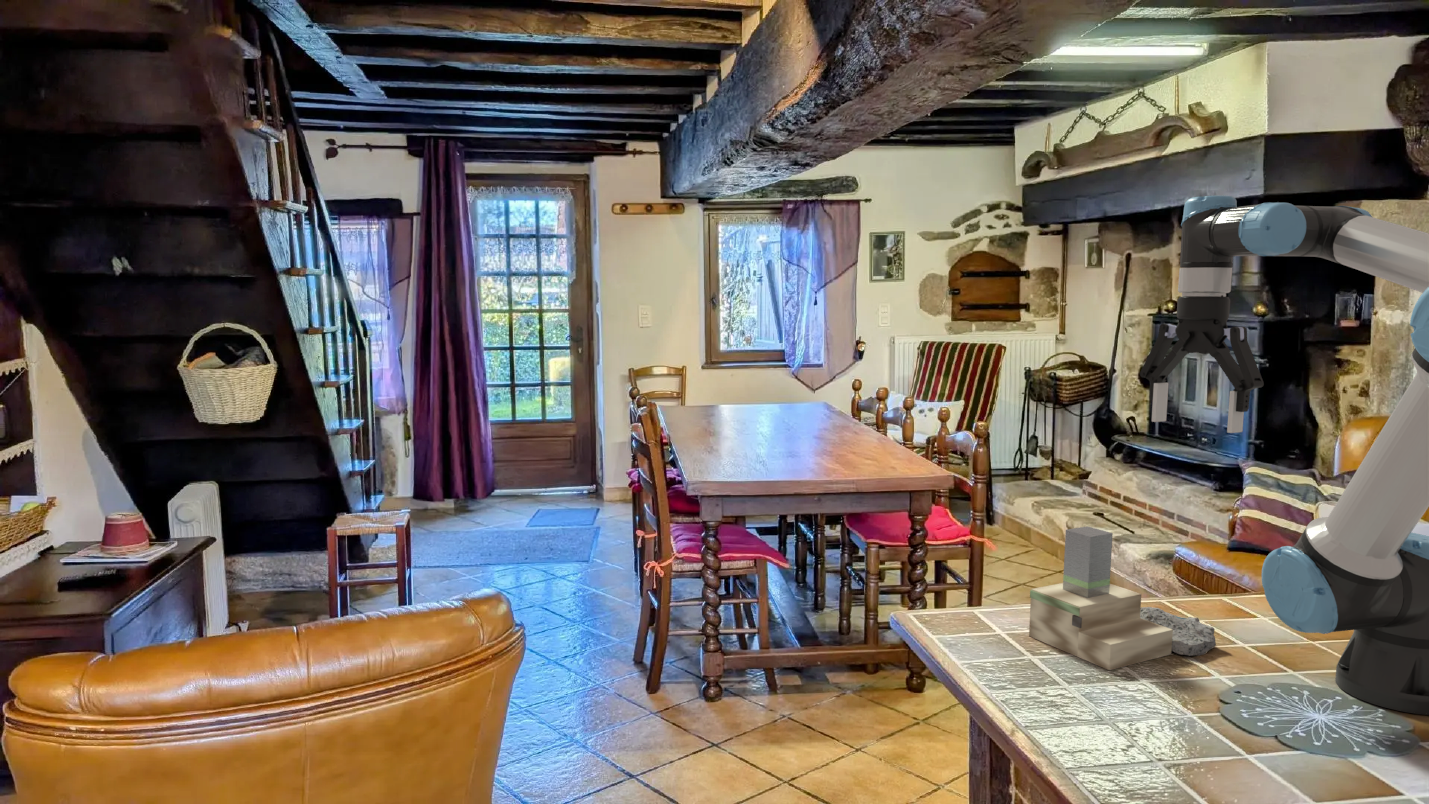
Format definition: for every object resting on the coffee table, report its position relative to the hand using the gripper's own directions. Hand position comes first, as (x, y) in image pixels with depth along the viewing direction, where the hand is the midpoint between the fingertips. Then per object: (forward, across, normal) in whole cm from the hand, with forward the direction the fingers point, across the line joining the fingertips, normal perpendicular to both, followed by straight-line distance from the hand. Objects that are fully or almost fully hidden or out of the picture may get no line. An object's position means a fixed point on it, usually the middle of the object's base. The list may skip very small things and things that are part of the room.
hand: (1195, 426), depth 156 cm
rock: (+35, -2, +6) cm, 36 cm away
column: (+27, +6, +17) cm, 32 cm away
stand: (+35, +3, +17) cm, 39 cm away
